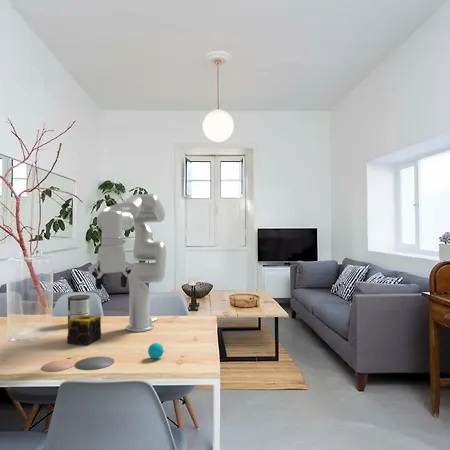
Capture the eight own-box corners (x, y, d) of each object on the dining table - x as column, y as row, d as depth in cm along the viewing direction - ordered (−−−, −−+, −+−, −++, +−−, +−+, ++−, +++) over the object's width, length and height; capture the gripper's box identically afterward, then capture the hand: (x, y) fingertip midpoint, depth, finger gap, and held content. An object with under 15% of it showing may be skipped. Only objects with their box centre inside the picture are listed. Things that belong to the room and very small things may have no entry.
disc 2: (101, 354, 139) (101, 354, 139) (121, 362, 131) (121, 361, 131) (67, 363, 129) (67, 363, 129) (86, 372, 121) (87, 372, 121)
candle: (88, 345, 151) (88, 321, 151) (66, 344, 153) (66, 320, 153) (101, 339, 161) (101, 315, 161) (80, 337, 163) (80, 314, 163)
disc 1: (65, 359, 134) (65, 358, 134) (79, 365, 127) (79, 364, 127) (36, 366, 126) (36, 366, 126) (49, 373, 120) (49, 373, 120)
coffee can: (62, 325, 184) (63, 297, 185) (80, 321, 193) (80, 294, 194) (76, 328, 179) (76, 298, 180) (93, 323, 188) (94, 295, 188)
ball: (156, 354, 139) (157, 340, 139) (166, 358, 135) (166, 342, 135) (144, 358, 135) (145, 343, 135) (154, 361, 131) (154, 346, 131)
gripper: (128, 242, 150) (128, 285, 149) (85, 243, 139) (84, 289, 138) (137, 242, 144) (136, 287, 144) (93, 243, 133) (92, 291, 132)
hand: (111, 288), depth 141 cm, fingers open, 9 cm apart
